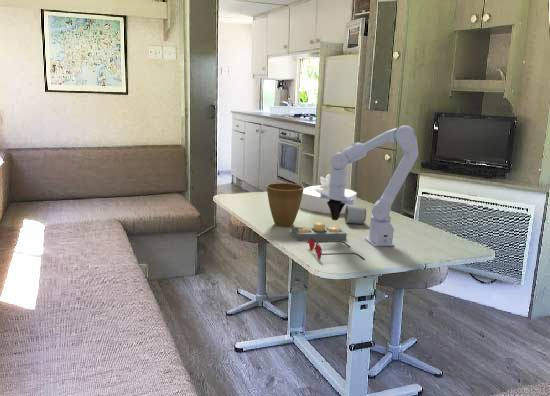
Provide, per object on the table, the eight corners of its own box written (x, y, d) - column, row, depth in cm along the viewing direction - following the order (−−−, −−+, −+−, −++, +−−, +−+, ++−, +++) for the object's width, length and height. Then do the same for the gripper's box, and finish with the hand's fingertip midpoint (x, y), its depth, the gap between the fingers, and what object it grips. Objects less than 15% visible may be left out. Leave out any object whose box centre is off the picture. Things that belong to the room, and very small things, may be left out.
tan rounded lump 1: (326, 232, 191) (326, 225, 190) (315, 232, 190) (315, 225, 189) (322, 229, 195) (323, 222, 194) (311, 229, 194) (312, 222, 193)
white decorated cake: (340, 216, 226) (343, 180, 223) (291, 207, 238) (293, 173, 235) (360, 206, 247) (363, 173, 244) (314, 198, 259) (316, 167, 256)
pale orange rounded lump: (310, 237, 190) (311, 230, 189) (299, 237, 189) (299, 230, 188) (307, 234, 194) (307, 227, 193) (296, 234, 193) (296, 227, 192)
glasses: (306, 248, 179) (307, 235, 178) (350, 247, 182) (351, 234, 181) (317, 262, 166) (318, 247, 164) (365, 260, 169) (366, 246, 168)
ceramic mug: (366, 225, 211) (367, 207, 210) (346, 225, 211) (348, 207, 209) (361, 219, 222) (362, 202, 220) (342, 218, 221) (343, 201, 220)
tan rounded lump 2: (341, 237, 192) (341, 230, 192) (329, 237, 191) (330, 230, 191) (337, 233, 197) (337, 226, 196) (326, 233, 196) (326, 226, 195)
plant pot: (294, 219, 216) (296, 182, 213) (306, 228, 202) (309, 189, 199) (260, 220, 211) (262, 182, 208) (271, 230, 198) (273, 190, 194)
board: (346, 239, 191) (346, 233, 190) (297, 240, 186) (297, 234, 186) (335, 229, 203) (335, 224, 202) (289, 230, 199) (289, 224, 198)
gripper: (359, 186, 187) (356, 222, 190) (329, 180, 197) (327, 214, 200) (347, 188, 183) (345, 225, 185) (317, 182, 193) (315, 216, 196)
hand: (335, 219), depth 193 cm, fingers closed
